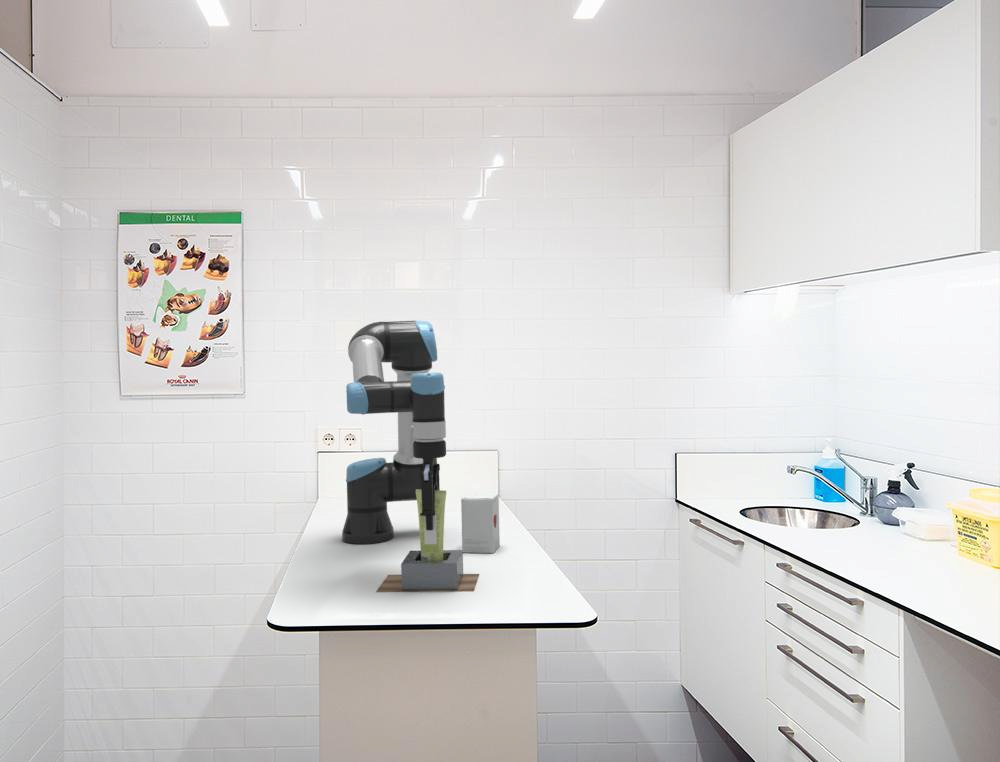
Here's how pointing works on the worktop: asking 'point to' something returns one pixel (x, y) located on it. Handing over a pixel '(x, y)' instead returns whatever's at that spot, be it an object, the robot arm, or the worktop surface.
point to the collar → (432, 571)
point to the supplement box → (480, 522)
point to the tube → (436, 550)
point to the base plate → (395, 585)
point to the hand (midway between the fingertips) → (432, 540)
